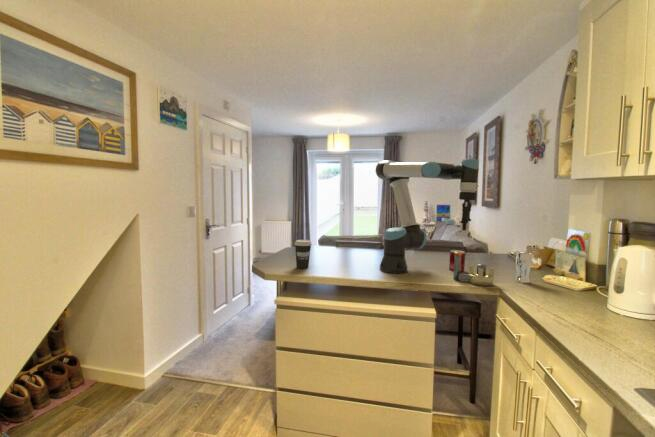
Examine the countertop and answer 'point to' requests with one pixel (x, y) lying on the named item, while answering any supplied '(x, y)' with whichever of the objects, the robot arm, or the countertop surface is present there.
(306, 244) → the coffee cup
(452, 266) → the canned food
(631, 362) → the countertop surface
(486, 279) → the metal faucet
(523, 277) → the beer glass
